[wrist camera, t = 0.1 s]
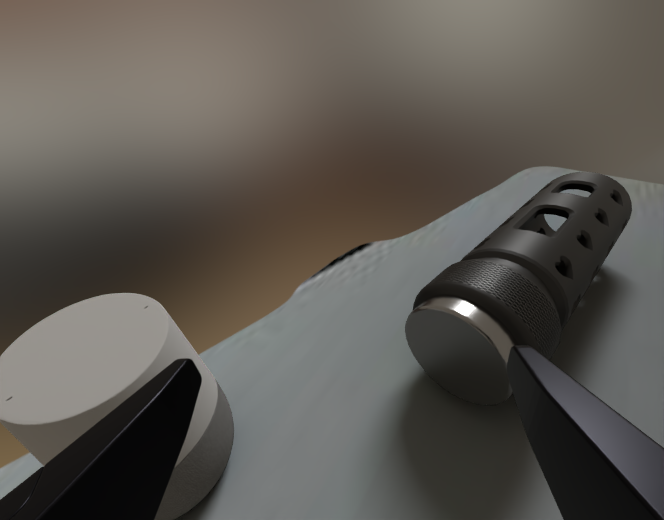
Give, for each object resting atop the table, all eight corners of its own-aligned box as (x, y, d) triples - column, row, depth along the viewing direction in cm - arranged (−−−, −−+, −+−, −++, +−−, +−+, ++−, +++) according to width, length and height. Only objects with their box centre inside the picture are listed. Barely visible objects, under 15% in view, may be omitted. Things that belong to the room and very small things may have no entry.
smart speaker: (161, 581, 18) (-19, 463, 11) (92, 493, 23) (-65, 370, 15) (268, 434, 24) (201, 298, 17) (196, 390, 29) (121, 268, 22)
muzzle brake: (616, 262, 35) (651, 173, 30) (511, 447, 21) (542, 342, 16) (525, 240, 42) (541, 165, 36) (399, 371, 28) (393, 278, 22)
